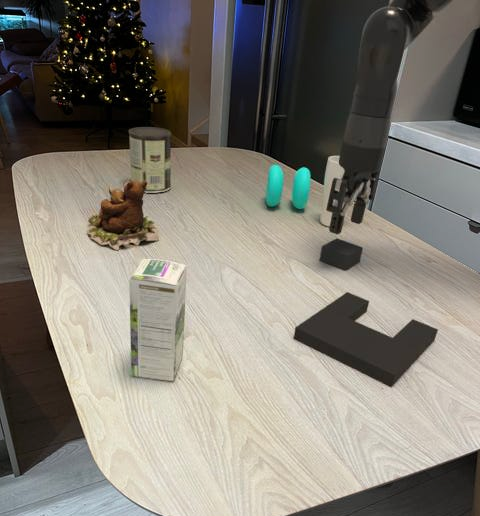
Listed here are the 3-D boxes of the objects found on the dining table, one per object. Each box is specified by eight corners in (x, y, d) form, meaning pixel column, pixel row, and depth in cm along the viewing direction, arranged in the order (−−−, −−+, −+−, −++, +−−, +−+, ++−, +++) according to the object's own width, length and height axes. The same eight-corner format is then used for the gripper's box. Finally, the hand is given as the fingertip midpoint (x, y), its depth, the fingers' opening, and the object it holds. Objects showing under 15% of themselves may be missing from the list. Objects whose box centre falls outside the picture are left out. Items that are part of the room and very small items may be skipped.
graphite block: (334, 252, 103) (337, 238, 101) (359, 262, 100) (363, 247, 98) (319, 260, 99) (321, 245, 97) (345, 270, 96) (348, 255, 94)
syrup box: (142, 351, 69) (140, 256, 61) (184, 357, 69) (187, 262, 61) (130, 377, 64) (126, 277, 56) (175, 383, 64) (177, 283, 56)
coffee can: (153, 179, 135) (152, 125, 128) (179, 189, 130) (179, 133, 122) (122, 185, 128) (119, 128, 121) (148, 196, 123) (147, 137, 115)
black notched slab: (345, 301, 86) (347, 291, 85) (434, 340, 78) (438, 329, 76) (293, 338, 75) (295, 327, 74) (391, 387, 67) (395, 375, 66)
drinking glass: (339, 231, 113) (352, 165, 105) (312, 224, 116) (323, 159, 108) (349, 223, 119) (362, 159, 111) (323, 216, 121) (334, 153, 113)
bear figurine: (136, 217, 111) (134, 161, 104) (169, 241, 101) (169, 182, 95) (76, 226, 104) (70, 167, 97) (105, 253, 94) (101, 190, 87)
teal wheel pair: (306, 215, 121) (312, 174, 116) (265, 211, 121) (270, 170, 115) (303, 201, 129) (309, 163, 124) (265, 198, 129) (269, 159, 124)
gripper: (365, 151, 80) (344, 243, 89) (400, 140, 90) (379, 224, 99) (325, 141, 84) (309, 230, 93) (363, 132, 94) (346, 214, 102)
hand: (345, 227), depth 96 cm, fingers open, 8 cm apart
